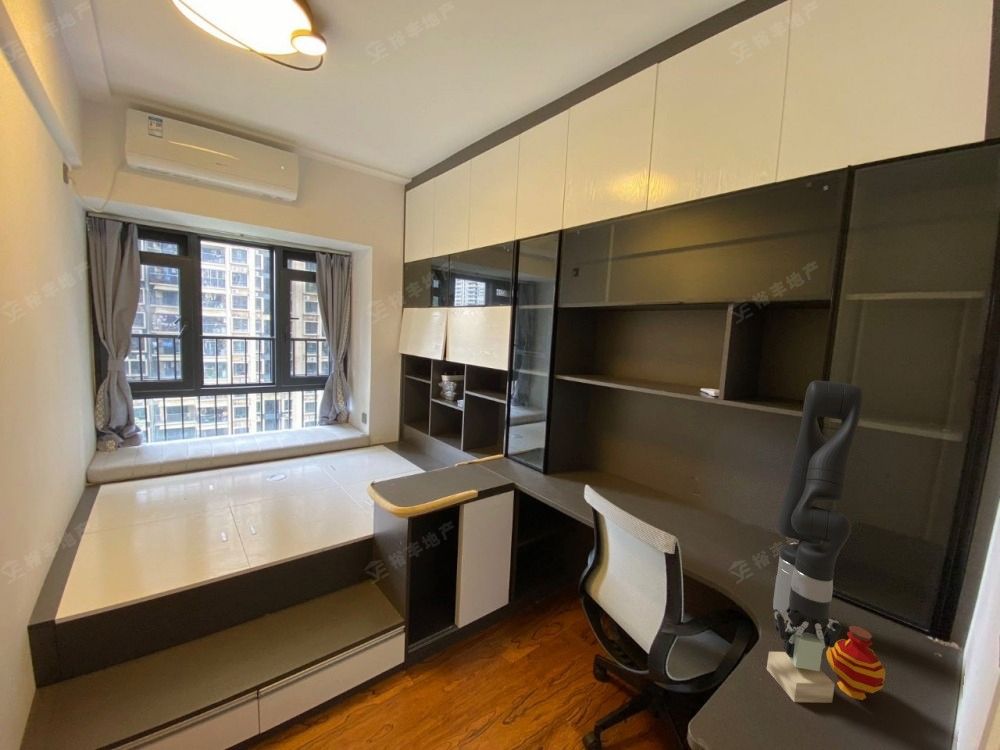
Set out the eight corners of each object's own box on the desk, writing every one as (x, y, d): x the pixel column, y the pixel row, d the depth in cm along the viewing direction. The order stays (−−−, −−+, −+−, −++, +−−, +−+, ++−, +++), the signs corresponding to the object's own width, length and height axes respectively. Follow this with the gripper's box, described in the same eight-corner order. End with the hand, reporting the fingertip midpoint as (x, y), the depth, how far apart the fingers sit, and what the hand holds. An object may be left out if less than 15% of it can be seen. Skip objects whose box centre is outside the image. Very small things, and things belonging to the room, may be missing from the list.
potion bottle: (852, 671, 100) (860, 616, 99) (893, 710, 90) (904, 649, 88) (812, 671, 100) (819, 615, 98) (849, 709, 89) (858, 648, 88)
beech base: (766, 669, 100) (768, 651, 99) (801, 670, 100) (803, 652, 100) (793, 702, 91) (796, 683, 90) (831, 703, 91) (834, 683, 91)
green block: (784, 650, 98) (787, 624, 97) (807, 654, 97) (810, 628, 96) (795, 667, 93) (799, 639, 92) (819, 671, 92) (823, 643, 91)
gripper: (835, 585, 95) (825, 650, 97) (769, 576, 98) (761, 639, 100) (856, 606, 88) (846, 676, 90) (785, 595, 91) (776, 663, 92)
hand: (801, 656), depth 95 cm, fingers closed on green block, 5 cm apart
